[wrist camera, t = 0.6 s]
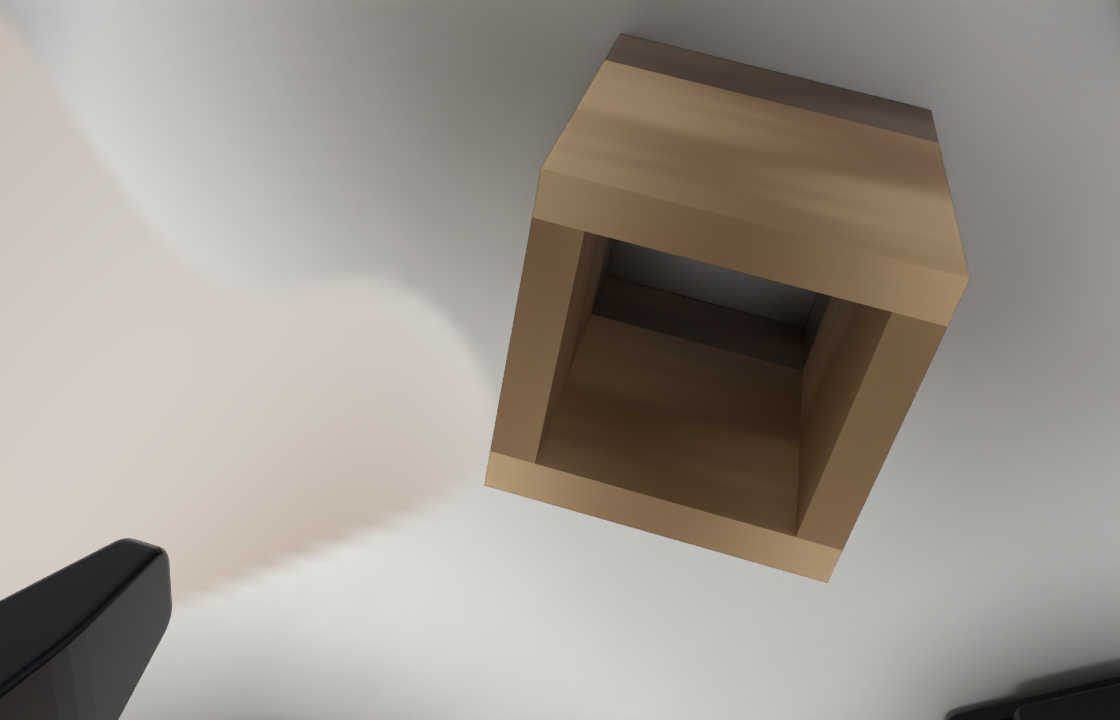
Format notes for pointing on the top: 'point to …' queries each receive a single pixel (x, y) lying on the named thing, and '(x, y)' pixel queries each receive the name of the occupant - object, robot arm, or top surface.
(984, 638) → the top surface
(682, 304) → the oak sleeve
